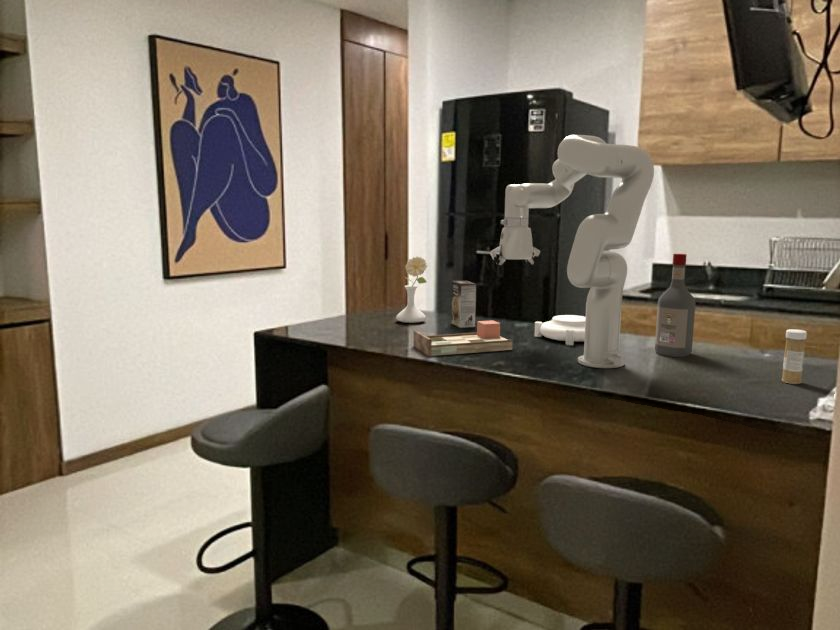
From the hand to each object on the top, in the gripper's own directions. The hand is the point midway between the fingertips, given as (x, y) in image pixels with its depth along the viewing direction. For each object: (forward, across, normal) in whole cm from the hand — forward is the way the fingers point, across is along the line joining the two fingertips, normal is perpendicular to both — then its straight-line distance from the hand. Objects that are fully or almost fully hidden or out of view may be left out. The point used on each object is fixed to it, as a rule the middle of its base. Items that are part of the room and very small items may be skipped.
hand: (514, 276), depth 215 cm
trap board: (+21, -20, -7) cm, 30 cm away
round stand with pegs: (+22, +20, -2) cm, 30 cm away
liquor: (+21, +38, -32) cm, 54 cm away
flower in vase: (+22, -23, +40) cm, 50 cm away
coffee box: (+22, -6, +29) cm, 37 cm away
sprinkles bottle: (+20, +46, -68) cm, 84 cm away
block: (+18, -10, -3) cm, 21 cm away
